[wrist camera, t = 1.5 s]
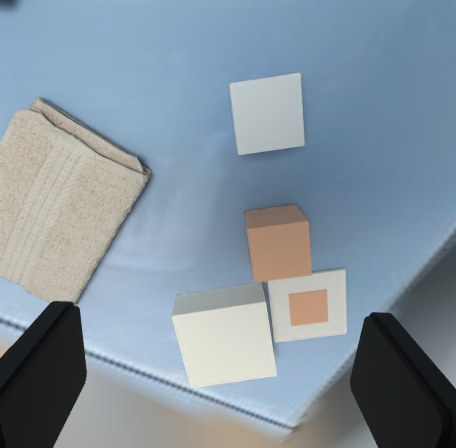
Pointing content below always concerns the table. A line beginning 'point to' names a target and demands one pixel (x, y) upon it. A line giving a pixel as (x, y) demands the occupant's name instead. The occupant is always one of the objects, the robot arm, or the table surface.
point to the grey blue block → (267, 113)
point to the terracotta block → (278, 243)
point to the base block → (224, 335)
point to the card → (308, 305)
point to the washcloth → (60, 200)
